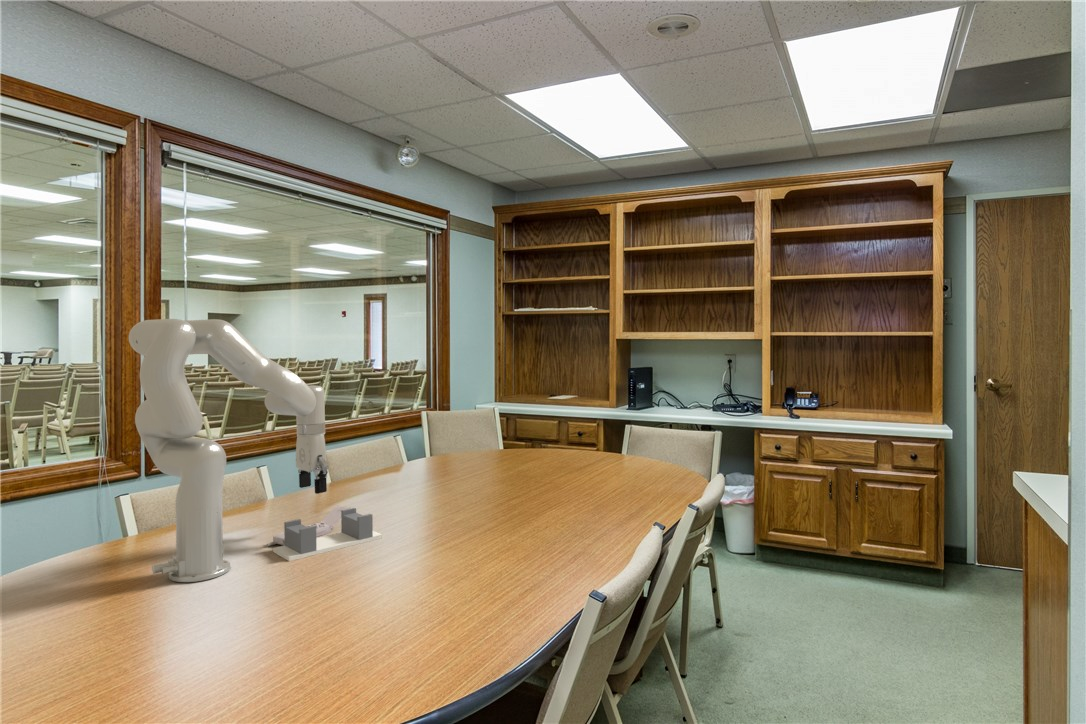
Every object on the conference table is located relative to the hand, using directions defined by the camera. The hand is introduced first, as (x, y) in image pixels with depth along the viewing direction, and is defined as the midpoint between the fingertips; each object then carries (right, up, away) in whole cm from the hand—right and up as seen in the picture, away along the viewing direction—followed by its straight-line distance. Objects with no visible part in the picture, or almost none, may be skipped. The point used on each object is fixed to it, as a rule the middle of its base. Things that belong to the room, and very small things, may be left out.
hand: (312, 489), depth 171 cm
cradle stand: (+8, -13, -8) cm, 17 cm away
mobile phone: (0, -14, 0) cm, 13 cm away
